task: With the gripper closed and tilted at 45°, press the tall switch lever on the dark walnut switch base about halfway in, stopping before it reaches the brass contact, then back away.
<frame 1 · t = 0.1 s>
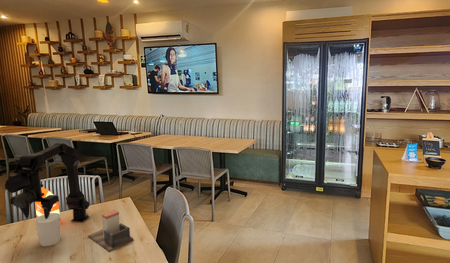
hand: (36, 218, 122), 15 cm above the table, tool pointing down, fingers open, 9 cm apart
switch lever: (111, 225, 131), point 7 cm above the table, slide at 0.0 cm
switch base: (113, 240, 131), on the table
white cup: (50, 241, 131), on the table
orange juice: (49, 225, 146), on the table
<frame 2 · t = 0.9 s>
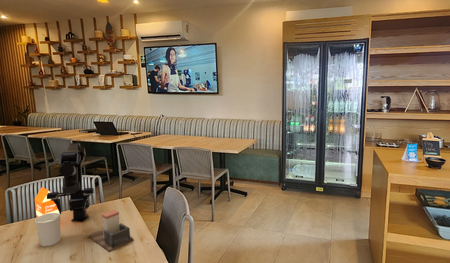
hand: (72, 212, 128), 14 cm above the table, tool tilted 20°, fingers open, 9 cm apart
nothing on the table moved.
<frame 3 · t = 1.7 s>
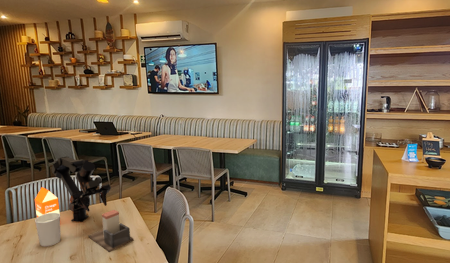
hand: (97, 208, 137), 12 cm above the table, tool tilted 45°, fingers open, 8 cm apart
nothing on the table moved.
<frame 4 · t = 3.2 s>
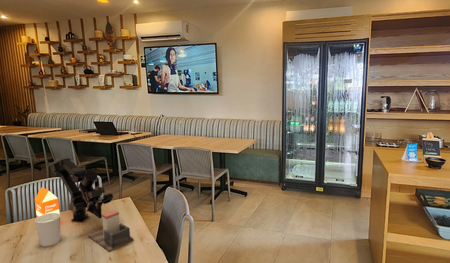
hand: (100, 218, 137), 8 cm above the table, tool tilted 45°, fingers closed
nothing on the table moved.
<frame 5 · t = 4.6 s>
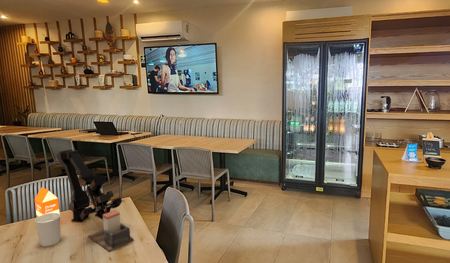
hand: (109, 223, 132), 8 cm above the table, tool tilted 45°, fingers closed, pressing on switch lever
switch lever: (112, 225, 130), point 7 cm above the table, slide at 0.7 cm, touching gripper
everything else where it was.
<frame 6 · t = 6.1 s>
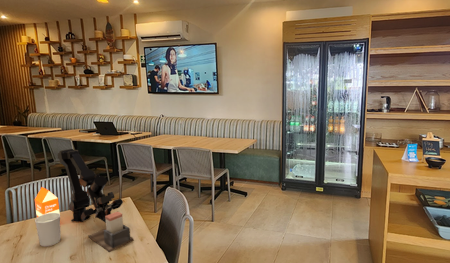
hand: (110, 224, 131), 7 cm above the table, tool tilted 45°, fingers closed
switch lever: (114, 227, 129), point 7 cm above the table, slide at 3.0 cm
everything else where it was.
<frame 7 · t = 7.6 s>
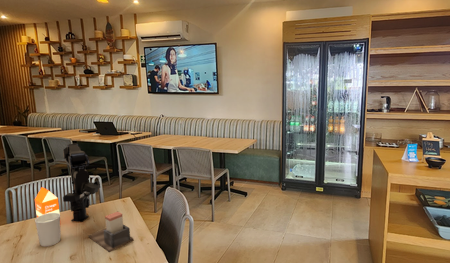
hand: (83, 209, 137), 12 cm above the table, tool pointing down, fingers closed
nothing on the table moved.
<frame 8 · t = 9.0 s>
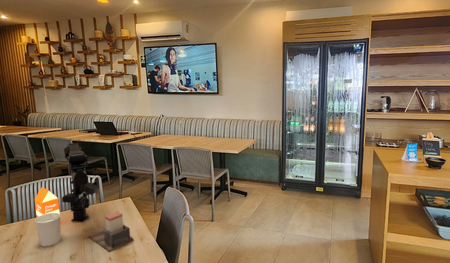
hand: (81, 208, 137), 12 cm above the table, tool pointing down, fingers closed
nothing on the table moved.
at the end: switch lever slide at 3.0 cm; white cup moved 0.2 cm from its start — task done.
